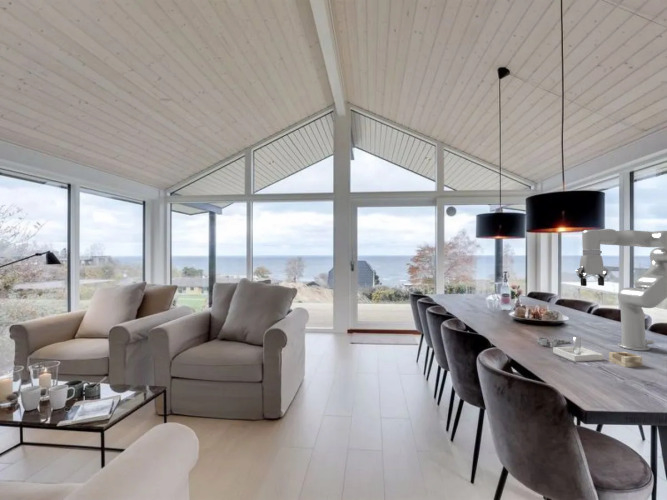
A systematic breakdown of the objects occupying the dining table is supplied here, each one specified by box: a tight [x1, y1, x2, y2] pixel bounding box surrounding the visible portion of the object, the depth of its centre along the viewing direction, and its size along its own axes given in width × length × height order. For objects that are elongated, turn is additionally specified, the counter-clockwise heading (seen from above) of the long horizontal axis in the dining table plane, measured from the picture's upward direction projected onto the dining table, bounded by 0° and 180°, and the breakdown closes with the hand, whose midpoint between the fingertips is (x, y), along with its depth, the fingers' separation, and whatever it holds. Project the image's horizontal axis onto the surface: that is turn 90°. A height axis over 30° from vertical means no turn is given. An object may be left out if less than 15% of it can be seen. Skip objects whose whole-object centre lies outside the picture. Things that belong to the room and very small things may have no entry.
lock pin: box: [572, 336, 582, 355], centre depth 165 cm, size 3×3×9 cm
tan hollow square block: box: [608, 351, 643, 368], centre depth 153 cm, size 8×8×5 cm
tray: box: [552, 346, 604, 364], centre depth 165 cm, size 14×14×4 cm
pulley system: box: [537, 337, 571, 349], centre depth 188 cm, size 27×5×15 cm
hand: (592, 285), depth 180 cm, fingers open, 9 cm apart
